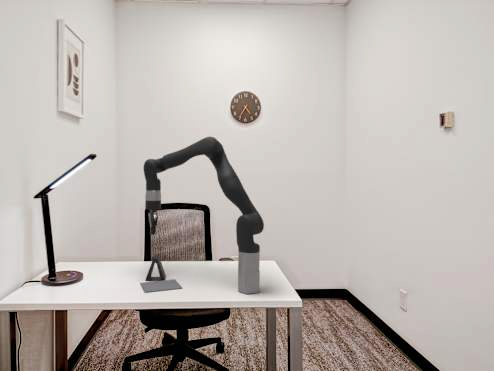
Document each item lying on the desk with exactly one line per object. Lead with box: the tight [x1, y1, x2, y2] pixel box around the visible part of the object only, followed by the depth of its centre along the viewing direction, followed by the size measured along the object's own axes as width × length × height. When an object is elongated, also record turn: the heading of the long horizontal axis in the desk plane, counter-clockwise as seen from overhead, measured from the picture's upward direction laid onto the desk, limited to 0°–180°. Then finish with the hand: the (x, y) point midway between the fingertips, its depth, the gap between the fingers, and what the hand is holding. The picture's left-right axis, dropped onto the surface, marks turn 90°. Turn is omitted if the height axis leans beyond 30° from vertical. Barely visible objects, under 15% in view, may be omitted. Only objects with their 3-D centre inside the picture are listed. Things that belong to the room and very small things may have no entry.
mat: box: [140, 279, 183, 294], centre depth 165 cm, size 14×16×1 cm
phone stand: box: [144, 252, 167, 282], centre depth 176 cm, size 9×6×12 cm, turn 96°
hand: (153, 234), depth 184 cm, fingers closed
